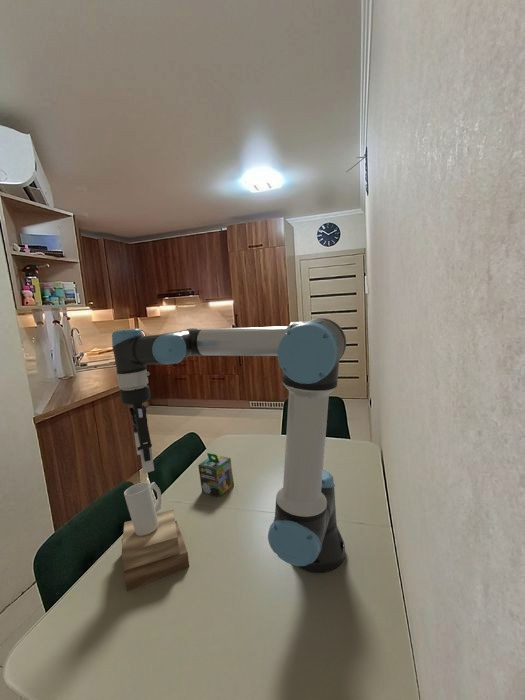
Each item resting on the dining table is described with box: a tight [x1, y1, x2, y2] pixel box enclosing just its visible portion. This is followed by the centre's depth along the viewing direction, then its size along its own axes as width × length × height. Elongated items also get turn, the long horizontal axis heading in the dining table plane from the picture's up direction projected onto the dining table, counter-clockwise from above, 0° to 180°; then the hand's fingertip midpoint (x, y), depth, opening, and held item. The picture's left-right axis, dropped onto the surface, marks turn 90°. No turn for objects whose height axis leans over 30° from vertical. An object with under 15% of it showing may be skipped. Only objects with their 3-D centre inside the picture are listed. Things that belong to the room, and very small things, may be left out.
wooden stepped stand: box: [121, 520, 190, 592], centre depth 98 cm, size 16×16×5 cm
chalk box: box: [198, 452, 235, 498], centre depth 132 cm, size 9×9×15 cm
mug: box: [123, 481, 162, 536], centre depth 97 cm, size 10×7×12 cm, turn 145°
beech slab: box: [121, 509, 180, 572], centre depth 97 cm, size 14×14×5 cm
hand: (145, 462), depth 95 cm, fingers open, 13 cm apart
